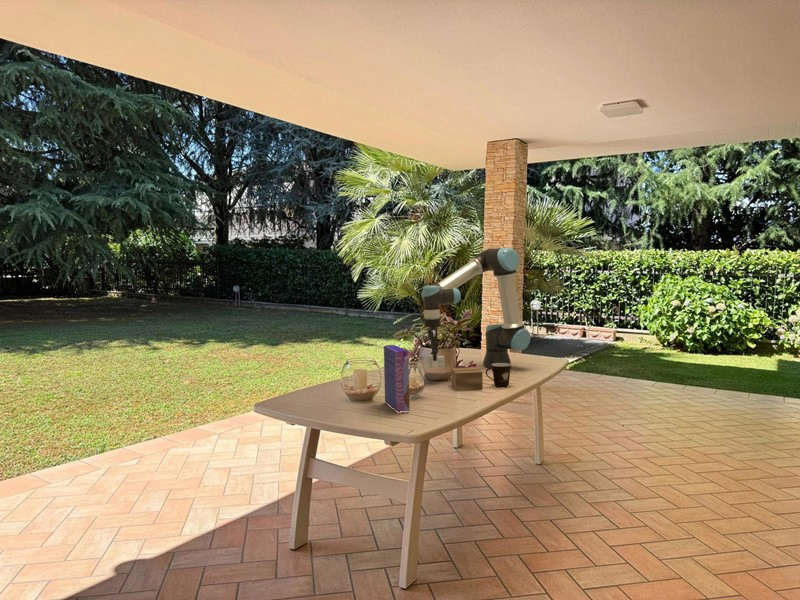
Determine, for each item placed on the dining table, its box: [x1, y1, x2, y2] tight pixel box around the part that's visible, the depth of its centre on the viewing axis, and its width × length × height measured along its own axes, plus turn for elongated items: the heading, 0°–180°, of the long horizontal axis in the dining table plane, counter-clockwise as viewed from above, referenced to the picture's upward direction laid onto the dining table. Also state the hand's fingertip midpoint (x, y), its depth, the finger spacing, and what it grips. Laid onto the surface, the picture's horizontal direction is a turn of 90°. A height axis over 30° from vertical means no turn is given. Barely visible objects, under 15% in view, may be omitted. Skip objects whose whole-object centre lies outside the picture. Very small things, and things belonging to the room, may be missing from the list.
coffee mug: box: [485, 363, 512, 388], centre depth 256 cm, size 12×9×10 cm
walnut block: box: [451, 366, 484, 392], centre depth 255 cm, size 12×12×8 cm
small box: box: [427, 355, 446, 369], centre depth 266 cm, size 8×8×5 cm
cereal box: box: [383, 344, 411, 412], centre depth 221 cm, size 17×5×24 cm, turn 18°
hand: (433, 365), depth 266 cm, fingers closed on small box, 9 cm apart
